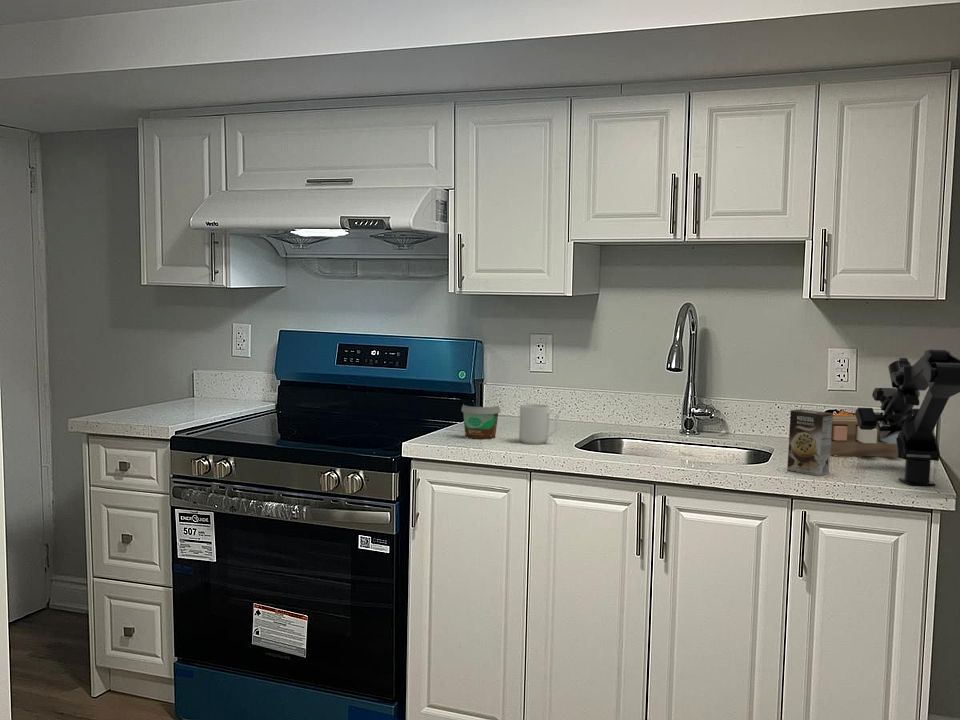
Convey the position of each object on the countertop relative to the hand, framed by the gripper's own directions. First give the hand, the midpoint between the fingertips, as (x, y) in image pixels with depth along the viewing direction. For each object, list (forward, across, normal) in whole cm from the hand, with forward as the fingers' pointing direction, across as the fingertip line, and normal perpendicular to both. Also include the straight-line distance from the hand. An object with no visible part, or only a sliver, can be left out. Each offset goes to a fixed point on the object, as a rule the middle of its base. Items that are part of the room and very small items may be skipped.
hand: (881, 437), depth 261 cm
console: (+18, +1, -7) cm, 19 cm away
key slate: (+9, -7, -5) cm, 12 cm away
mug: (+22, +94, -11) cm, 97 cm away
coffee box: (-4, +25, +15) cm, 30 cm away
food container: (+26, +112, -15) cm, 116 cm away
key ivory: (+9, 0, -5) cm, 10 cm away
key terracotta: (+11, +7, -7) cm, 15 cm away
